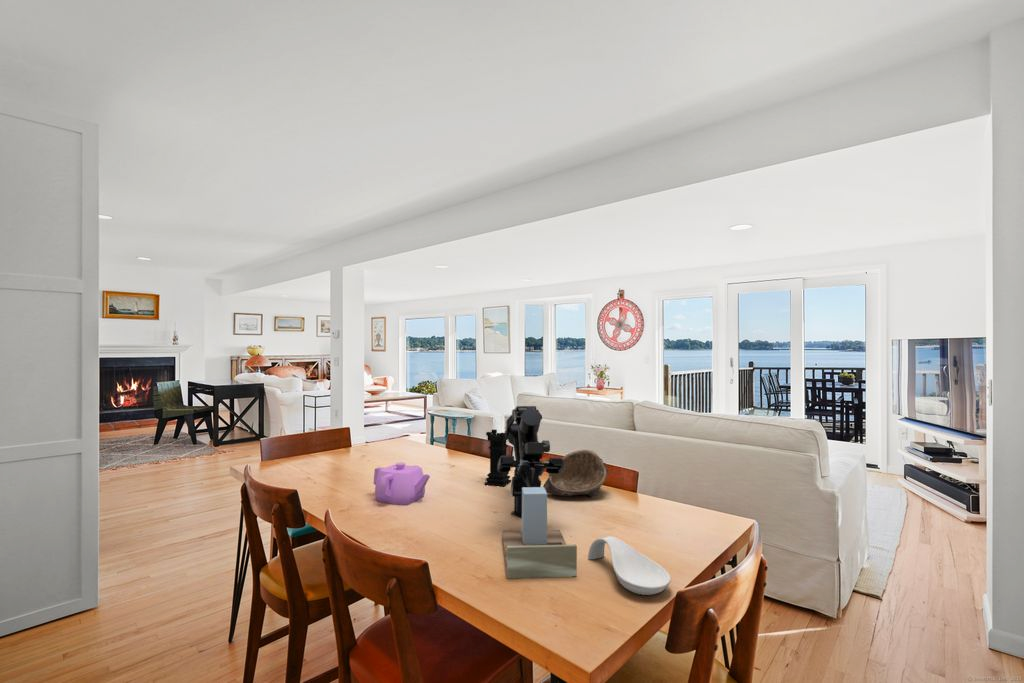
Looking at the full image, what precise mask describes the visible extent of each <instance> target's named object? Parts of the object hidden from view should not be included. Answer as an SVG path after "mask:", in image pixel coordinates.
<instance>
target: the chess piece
mask: <svg viewBox="0 0 1024 683" xmlns="http://www.w3.org/2000/svg"><path fill="white" fill-rule="evenodd" d="M485 436H487V441H488V442H489V446H488V449H489V463H490V464H489V473H488V474H487V476H486V478H485V482H484V486H487V485H488V487H489V486H490V487H497V486H499V488H505V487H506V485H507V486H508V485H509V484H511V483H512V479H510V478H511V475H509V474H510V473H509V472H510V471H509V472H508V473H499V472H498V468H497V466H498V462H499V459H500V457H501V456H507V448H508V445H507V441H508V436H506V430H505V431H504V432H498V430H497V429H491V431H486V432H485Z"/></svg>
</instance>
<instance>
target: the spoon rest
mask: <svg viewBox="0 0 1024 683" xmlns="http://www.w3.org/2000/svg"><path fill="white" fill-rule="evenodd" d="M606 545H607V546H608V548H609V551H610V556H611V557H610V558H611V564H612V567H613V571H614V573H615V576H616V578H617V580H618V581H619V583H620V584H621V585H622V586H623V587H624V588H625V589H626V590H628V591H629V592H631V593H633V592H634V593H633V594H636V593H637V594H636V595H640V594H641V595H642V596H652V595H657V594H659V593H661V592H663V591H664V590H665V589H666V588H667V587H668V586H669V585H670V584H671V582H672V580H671V579H672V578H671V575H670V573H669V572H668V571H667V569H665V568H664V567H663V566H661V565H660V564H658V563H657V562H655V561H654V560H652V559H651V558H649V557H647V556H646V555H644V554H642V553H641V552H639V551H638V550H637V549H635V548H633V547H632V546H631V545H629V544H627V543H626V542H624V541H623V540H621V539H619V538H617V537H615V536H611V535H610V536H609V535H608V536H606V537H599V538H596V539H595V540H593V541H592V543H591V545H590V546H589V549H588V554H587V559H588V560H598V559H600V558H601V557H602V558H604V557H605V546H606ZM597 558H598V559H597Z"/></svg>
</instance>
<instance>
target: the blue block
mask: <svg viewBox="0 0 1024 683" xmlns="http://www.w3.org/2000/svg"><path fill="white" fill-rule="evenodd" d="M521 530H522V539H523V544H524V545H536V544H547V530H548V493H547V492H546V490H545V488H544V487H543V486H541V487H522V517H521Z"/></svg>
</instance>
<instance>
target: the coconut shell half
mask: <svg viewBox="0 0 1024 683" xmlns="http://www.w3.org/2000/svg"><path fill="white" fill-rule="evenodd" d="M561 458H562V459H563V461H564V467H563V469H562V470H561V472H560V473H559V474H549V473H548V478H547V479H546V480H545V482H544V484H543V486H542V487H544V488H545V490H546V492H547V494H548V495H551V496H558V497H559V496H562V497H564V496H565V497H571V496H583V495H588V496H591V497H590V498H593V497H594V496H596V495H597V493H598V492H599V490H600V488H601V487H602V486H603V485H604V483H605V481H606V479H607V475H608V474H609V473H610V471H609V470H608V469H607V463H605V462H604V461H603V459H602V458H601V457H600V456H599V455H598V454H597V453H596V452H595V451H593V450H589V449H579V450H576V451H573V452H570V453H568V454H566V455H564V456H563V457H561Z"/></svg>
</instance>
